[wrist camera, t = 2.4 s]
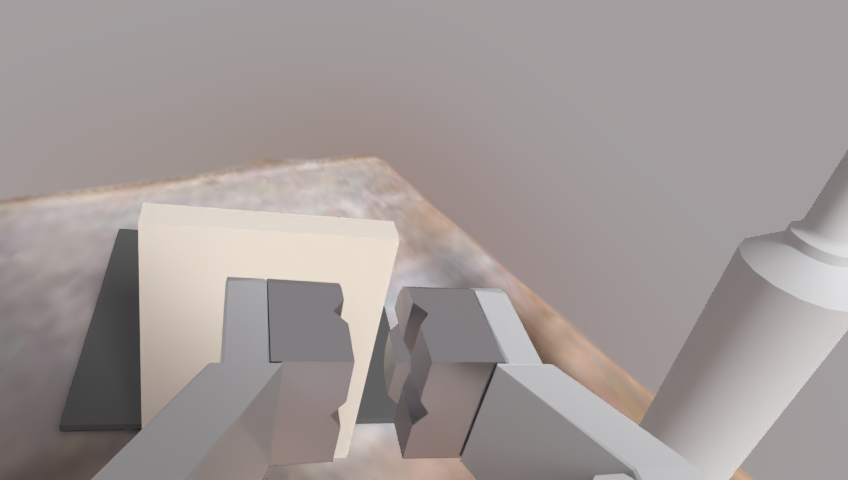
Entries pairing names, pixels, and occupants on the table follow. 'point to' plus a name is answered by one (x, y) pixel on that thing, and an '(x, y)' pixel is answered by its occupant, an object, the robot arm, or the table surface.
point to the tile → (249, 258)
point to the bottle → (758, 337)
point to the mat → (120, 356)
